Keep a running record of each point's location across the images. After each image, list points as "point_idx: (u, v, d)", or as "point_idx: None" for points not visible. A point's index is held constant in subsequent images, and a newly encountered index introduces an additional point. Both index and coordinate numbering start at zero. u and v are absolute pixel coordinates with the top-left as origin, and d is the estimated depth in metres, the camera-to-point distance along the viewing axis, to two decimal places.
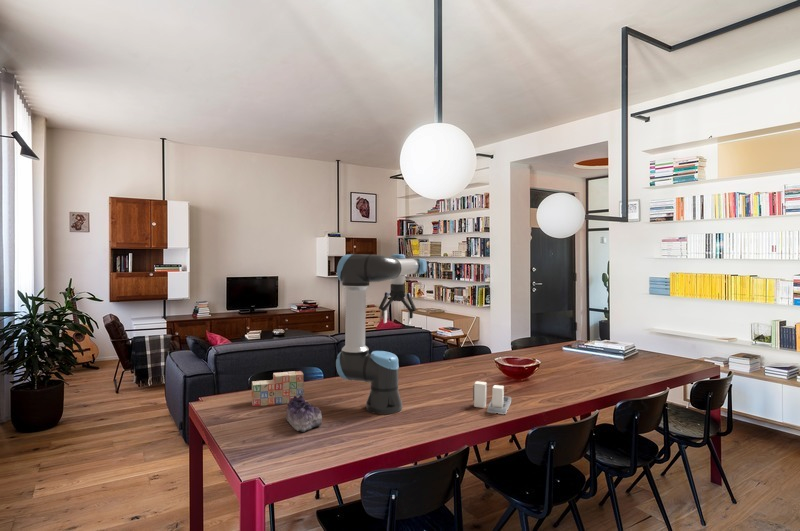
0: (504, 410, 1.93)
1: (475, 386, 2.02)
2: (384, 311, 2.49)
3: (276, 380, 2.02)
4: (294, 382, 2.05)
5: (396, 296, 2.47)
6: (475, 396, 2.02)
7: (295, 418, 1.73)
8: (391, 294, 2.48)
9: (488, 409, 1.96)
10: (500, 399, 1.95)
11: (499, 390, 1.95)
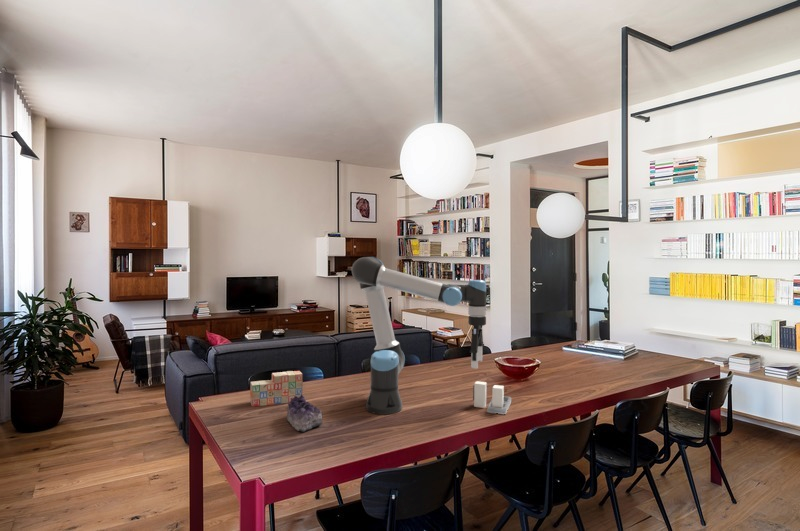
0: (504, 410, 1.93)
1: (475, 386, 2.02)
2: None
3: (275, 380, 2.02)
4: (293, 382, 2.05)
5: None
6: (475, 396, 2.02)
7: (295, 418, 1.73)
8: None
9: (488, 409, 1.96)
10: (500, 399, 1.95)
11: (499, 390, 1.95)
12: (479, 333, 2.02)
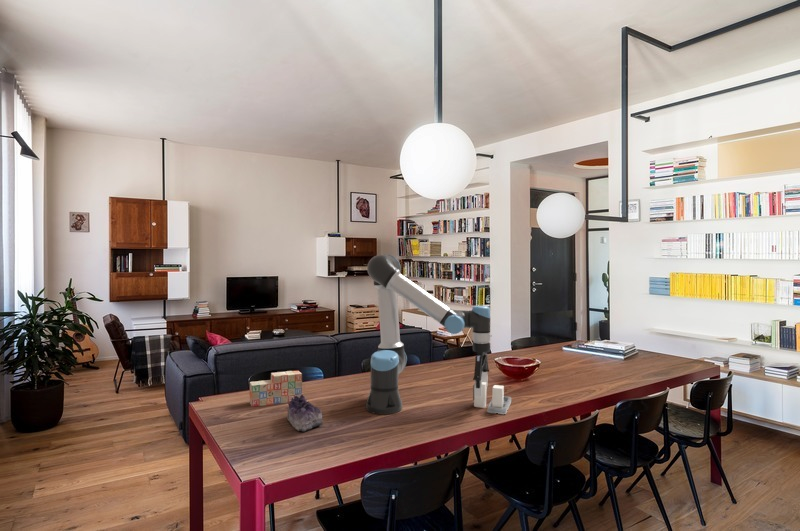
0: (504, 410, 1.93)
1: None
2: None
3: (275, 380, 2.02)
4: (292, 382, 2.05)
5: None
6: (475, 396, 2.02)
7: (295, 418, 1.73)
8: None
9: (488, 409, 1.96)
10: (500, 399, 1.95)
11: (499, 390, 1.95)
12: (483, 360, 2.00)
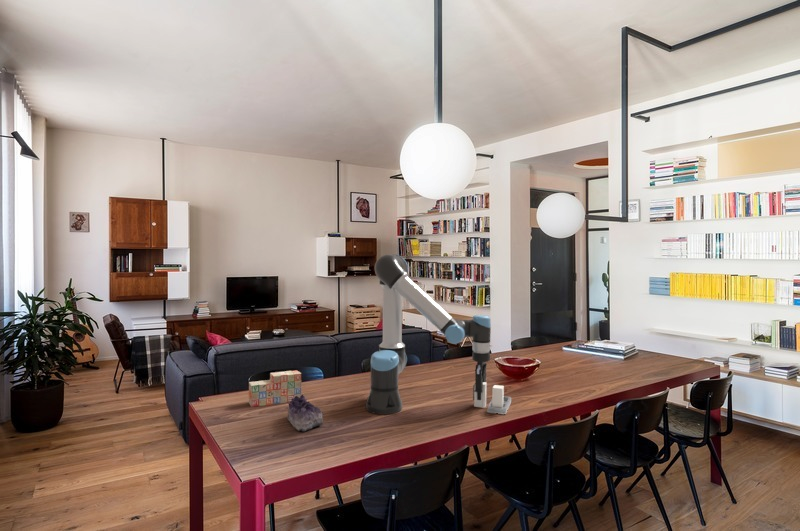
0: (504, 410, 1.93)
1: None
2: None
3: (274, 380, 2.02)
4: (292, 382, 2.06)
5: None
6: (475, 396, 2.02)
7: (296, 418, 1.73)
8: None
9: (488, 409, 1.96)
10: (500, 399, 1.95)
11: (499, 390, 1.95)
12: (483, 370, 2.00)
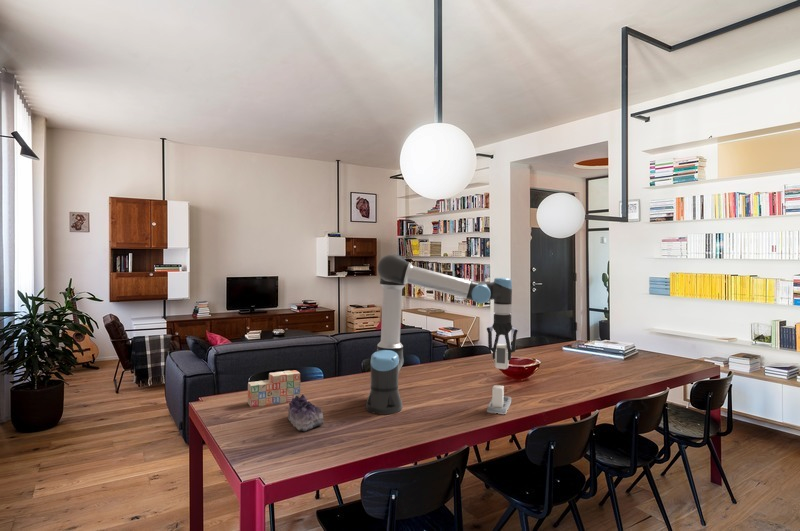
0: (504, 410, 1.93)
1: (506, 348, 2.02)
2: None
3: (274, 380, 2.02)
4: (291, 381, 2.06)
5: (501, 328, 2.04)
6: (505, 358, 2.03)
7: (296, 417, 1.73)
8: (495, 326, 2.05)
9: (488, 409, 1.96)
10: (500, 399, 1.95)
11: (499, 390, 1.95)
12: None
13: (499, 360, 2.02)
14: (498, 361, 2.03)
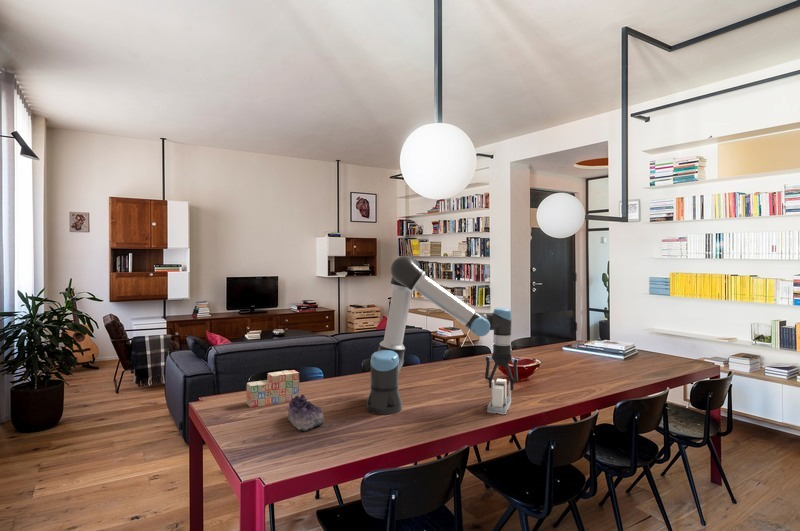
0: (504, 410, 1.93)
1: (505, 384, 2.03)
2: (492, 382, 2.05)
3: (273, 380, 2.02)
4: (290, 381, 2.06)
5: (501, 359, 2.04)
6: (505, 394, 2.03)
7: (297, 417, 1.74)
8: (494, 357, 2.05)
9: (488, 409, 1.96)
10: (500, 399, 1.95)
11: (499, 390, 1.95)
12: None
13: None
14: None
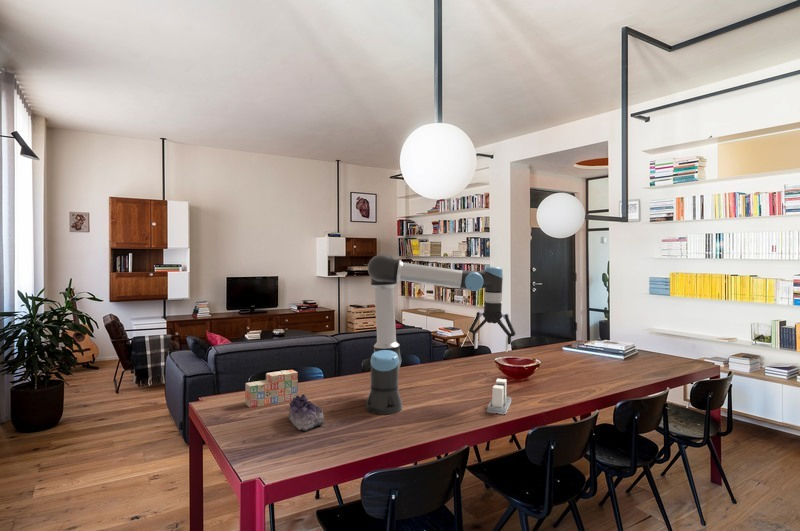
0: (504, 410, 1.93)
1: (505, 384, 2.03)
2: (475, 334, 2.09)
3: (272, 380, 2.02)
4: (289, 381, 2.07)
5: (491, 317, 2.07)
6: (505, 394, 2.03)
7: (297, 417, 1.74)
8: (485, 314, 2.08)
9: (488, 409, 1.96)
10: (500, 399, 1.95)
11: (499, 390, 1.95)
12: None
13: None
14: None
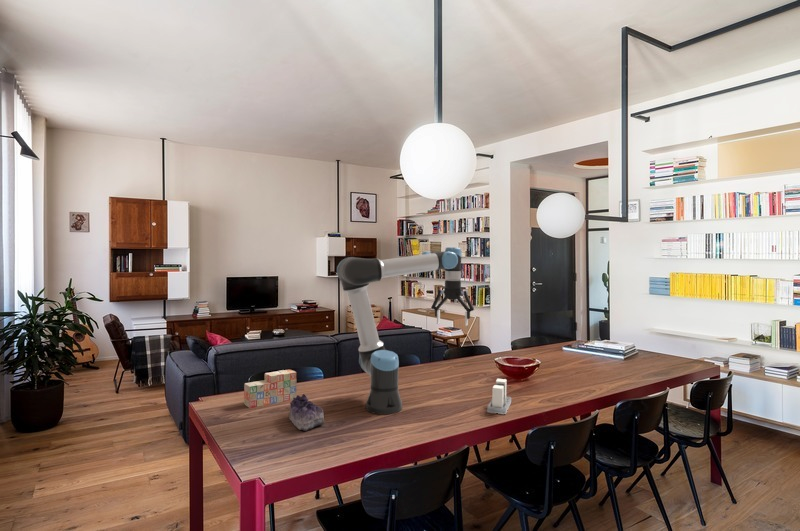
0: (504, 410, 1.93)
1: (505, 384, 2.03)
2: (437, 311, 2.24)
3: (271, 380, 2.02)
4: (288, 381, 2.07)
5: (451, 294, 2.22)
6: (505, 394, 2.03)
7: (297, 417, 1.74)
8: (445, 292, 2.23)
9: (488, 409, 1.96)
10: (500, 399, 1.95)
11: (499, 390, 1.95)
12: None
13: None
14: None
